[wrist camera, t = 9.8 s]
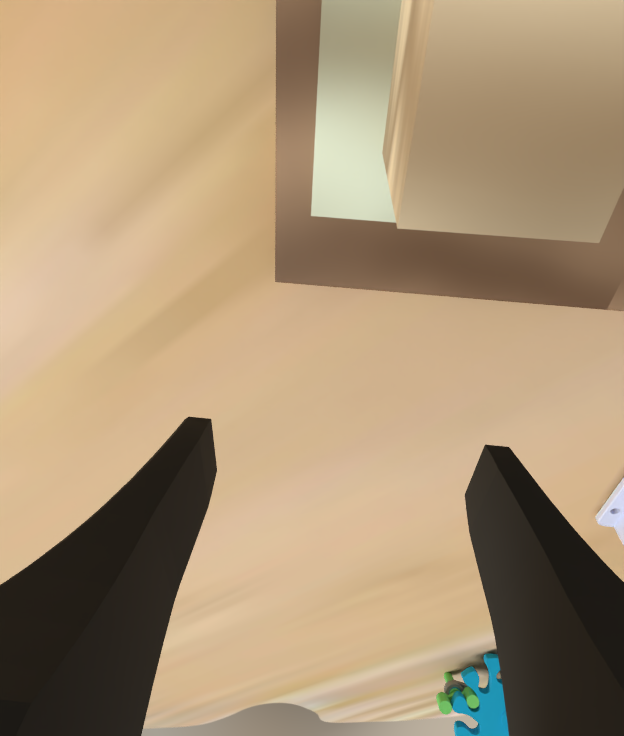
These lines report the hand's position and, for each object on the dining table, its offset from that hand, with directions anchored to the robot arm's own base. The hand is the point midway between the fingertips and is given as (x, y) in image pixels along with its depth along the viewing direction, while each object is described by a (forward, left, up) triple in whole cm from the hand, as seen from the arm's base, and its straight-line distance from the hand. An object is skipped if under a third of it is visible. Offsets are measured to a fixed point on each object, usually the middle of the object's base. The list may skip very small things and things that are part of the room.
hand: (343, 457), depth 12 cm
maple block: (+8, -3, -8) cm, 11 cm away
